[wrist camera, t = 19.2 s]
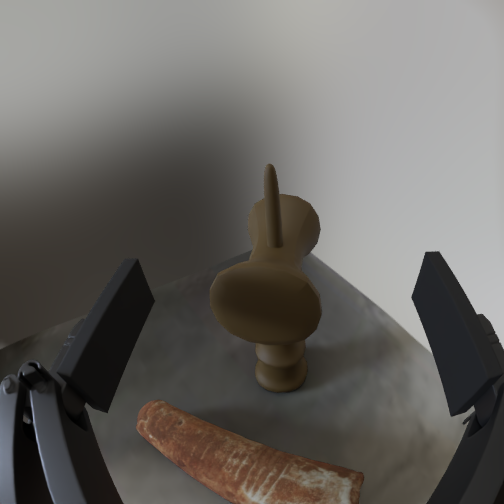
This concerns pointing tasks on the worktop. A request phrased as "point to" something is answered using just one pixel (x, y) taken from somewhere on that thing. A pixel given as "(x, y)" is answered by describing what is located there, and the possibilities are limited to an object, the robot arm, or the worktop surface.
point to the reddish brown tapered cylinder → (243, 462)
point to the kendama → (273, 288)
